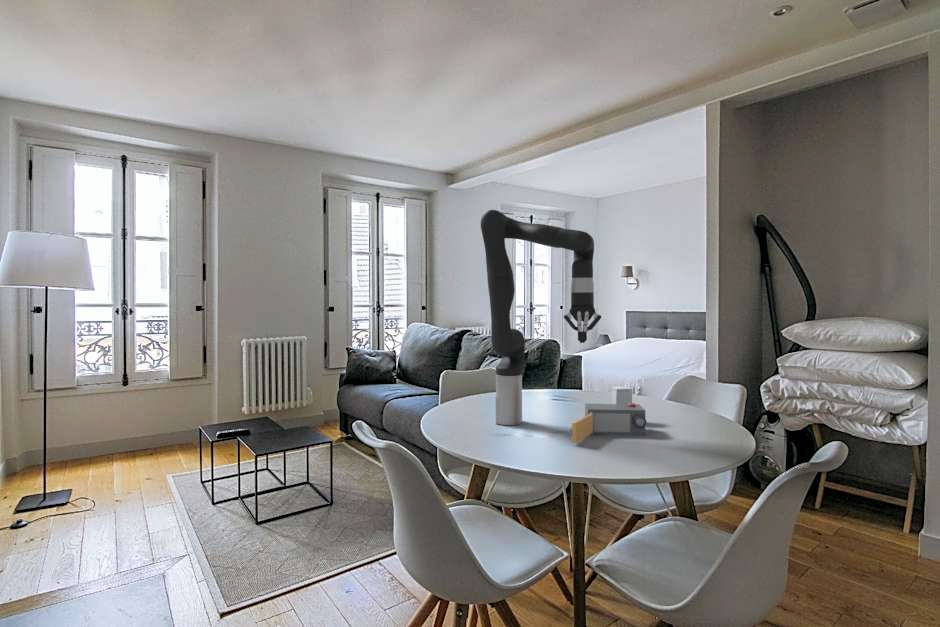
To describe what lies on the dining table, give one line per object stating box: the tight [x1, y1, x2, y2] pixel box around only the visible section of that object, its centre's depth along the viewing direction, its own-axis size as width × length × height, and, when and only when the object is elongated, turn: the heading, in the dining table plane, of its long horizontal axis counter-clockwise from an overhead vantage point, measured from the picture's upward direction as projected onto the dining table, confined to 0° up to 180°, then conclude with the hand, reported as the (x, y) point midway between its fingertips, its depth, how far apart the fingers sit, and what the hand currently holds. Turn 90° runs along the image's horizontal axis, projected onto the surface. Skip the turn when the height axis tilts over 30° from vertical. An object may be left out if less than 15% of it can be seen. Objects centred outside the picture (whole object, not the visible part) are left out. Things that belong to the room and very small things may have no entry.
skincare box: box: [611, 386, 633, 404], centre depth 182 cm, size 6×4×12 cm
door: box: [569, 412, 595, 444], centre depth 159 cm, size 15×2×7 cm, turn 145°
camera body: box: [584, 402, 647, 436], centre depth 168 cm, size 18×11×9 cm, turn 84°
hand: (582, 342), depth 173 cm, fingers closed
